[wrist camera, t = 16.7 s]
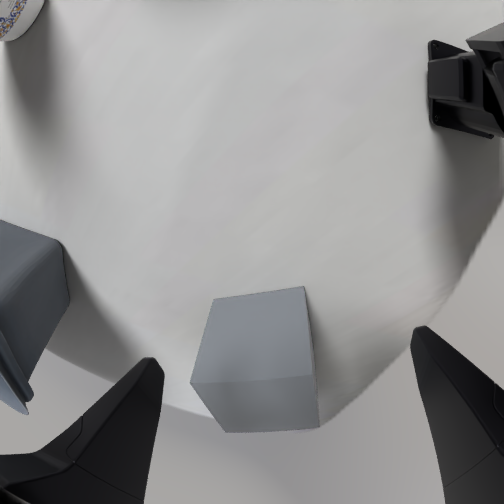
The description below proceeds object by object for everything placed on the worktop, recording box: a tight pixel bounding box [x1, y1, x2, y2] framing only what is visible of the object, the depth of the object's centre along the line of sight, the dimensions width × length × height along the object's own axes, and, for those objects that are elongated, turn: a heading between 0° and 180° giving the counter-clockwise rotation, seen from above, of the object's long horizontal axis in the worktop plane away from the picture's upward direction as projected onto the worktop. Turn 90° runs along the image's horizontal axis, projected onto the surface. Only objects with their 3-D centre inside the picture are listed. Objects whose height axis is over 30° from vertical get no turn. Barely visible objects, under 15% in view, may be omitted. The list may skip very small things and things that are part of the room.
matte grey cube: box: [190, 286, 320, 433], centre depth 22 cm, size 8×8×9 cm
